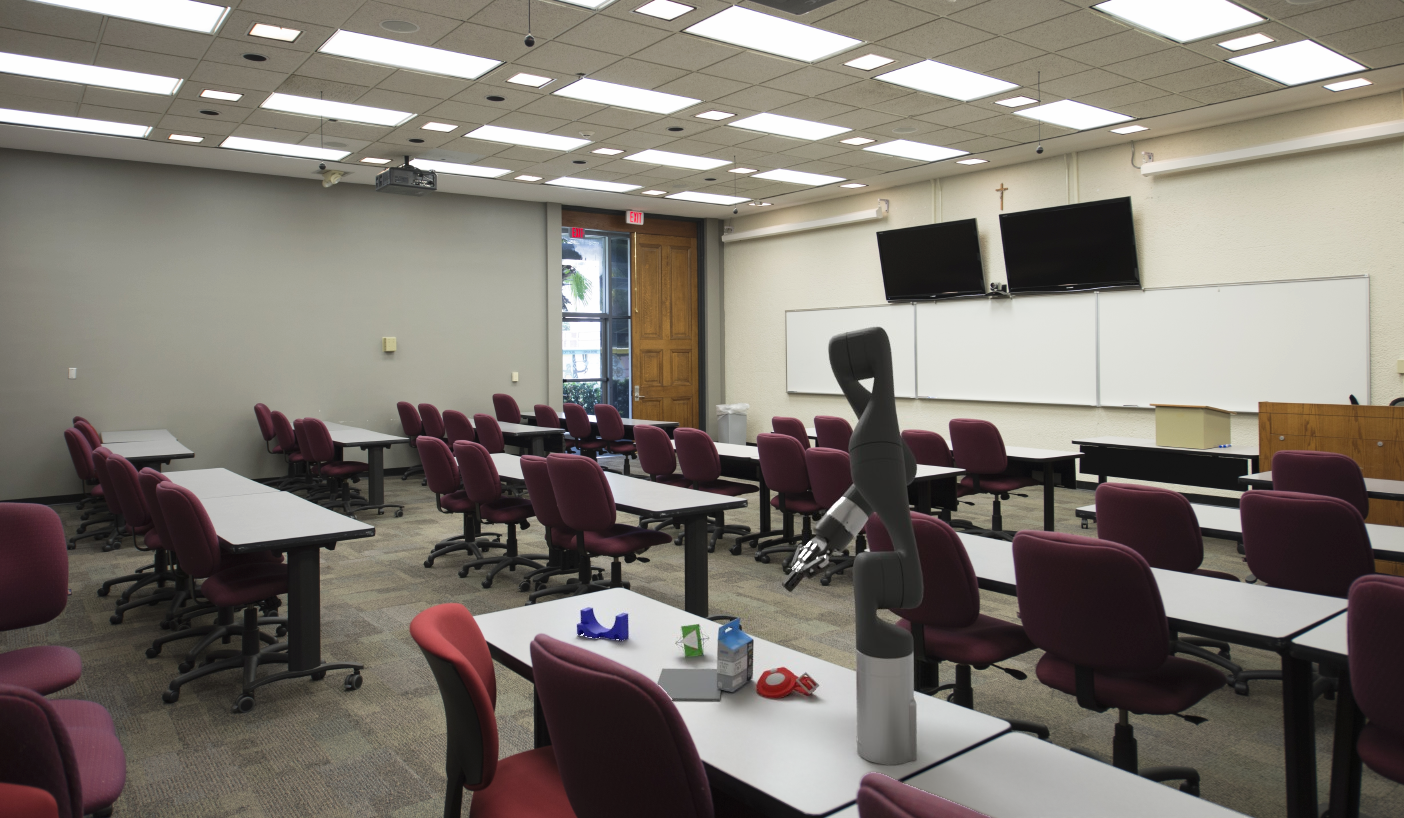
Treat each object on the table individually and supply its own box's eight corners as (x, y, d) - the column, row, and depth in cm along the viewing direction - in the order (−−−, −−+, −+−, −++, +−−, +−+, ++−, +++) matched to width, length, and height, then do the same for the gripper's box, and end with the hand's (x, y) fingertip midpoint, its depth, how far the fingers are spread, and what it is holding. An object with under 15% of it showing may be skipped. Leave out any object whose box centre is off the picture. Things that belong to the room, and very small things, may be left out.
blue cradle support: (577, 636, 206) (576, 611, 205) (588, 631, 209) (588, 606, 209) (617, 643, 199) (616, 618, 199) (628, 638, 203) (628, 613, 203)
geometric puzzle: (670, 639, 194) (676, 617, 189) (699, 636, 197) (705, 614, 192) (678, 666, 189) (685, 645, 184) (708, 662, 191) (714, 640, 186)
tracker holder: (756, 696, 164) (752, 665, 173) (761, 715, 165) (757, 684, 175) (818, 681, 163) (810, 651, 173) (823, 700, 165) (815, 670, 174)
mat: (723, 670, 180) (723, 668, 180) (719, 700, 164) (719, 698, 164) (662, 670, 181) (662, 668, 181) (652, 699, 165) (652, 697, 165)
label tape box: (732, 693, 167) (735, 631, 166) (714, 688, 169) (717, 627, 168) (753, 679, 175) (756, 620, 174) (735, 675, 177) (738, 616, 176)
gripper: (815, 507, 181) (762, 569, 179) (842, 517, 168) (784, 584, 166) (839, 530, 183) (786, 592, 180) (867, 542, 170) (810, 609, 168)
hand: (785, 588), depth 173 cm, fingers closed
